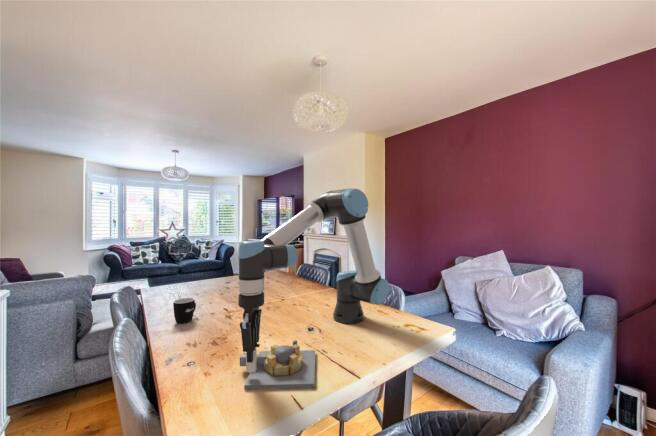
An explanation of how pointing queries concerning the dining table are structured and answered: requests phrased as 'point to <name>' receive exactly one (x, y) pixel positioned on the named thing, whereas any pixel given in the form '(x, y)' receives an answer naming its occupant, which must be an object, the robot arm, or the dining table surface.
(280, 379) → the hub plate
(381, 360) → the dining table surface
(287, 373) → the ring nut
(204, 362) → the dining table surface
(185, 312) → the mug
